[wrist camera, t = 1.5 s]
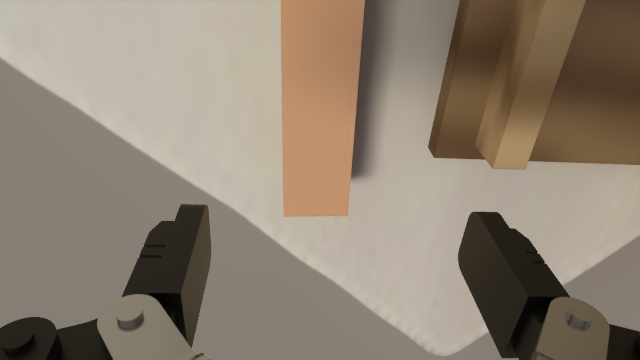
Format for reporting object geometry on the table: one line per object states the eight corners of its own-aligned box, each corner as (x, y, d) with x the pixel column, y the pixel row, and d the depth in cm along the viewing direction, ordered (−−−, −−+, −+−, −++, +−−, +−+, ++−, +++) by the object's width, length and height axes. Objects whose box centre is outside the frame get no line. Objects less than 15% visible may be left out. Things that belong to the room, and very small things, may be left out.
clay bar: (281, -85, 23) (279, -83, 19) (357, -82, 23) (371, -80, 20) (284, 178, 31) (283, 216, 28) (340, 178, 32) (347, 216, 28)
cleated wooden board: (471, -50, 24) (505, -42, 20) (789, -27, 26) (876, -14, 22) (428, 147, 30) (447, 181, 27) (686, 156, 32) (740, 190, 28)
